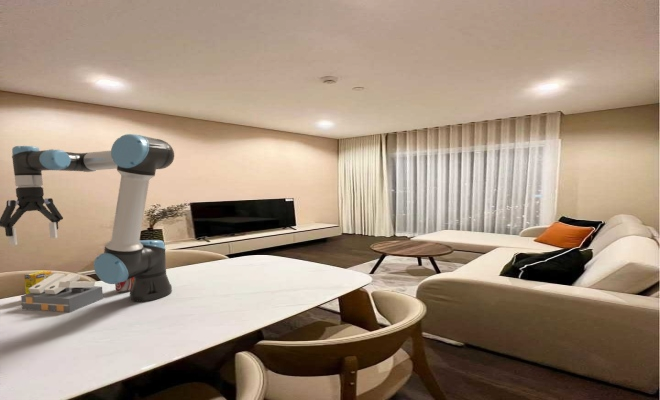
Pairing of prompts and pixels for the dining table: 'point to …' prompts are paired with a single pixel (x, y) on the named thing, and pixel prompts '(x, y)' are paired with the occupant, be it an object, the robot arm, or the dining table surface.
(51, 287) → the rocker
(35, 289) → the rocker
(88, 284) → the rocker
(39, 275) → the supplement box
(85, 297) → the switch unit
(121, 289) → the beverage can
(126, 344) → the dining table surface
